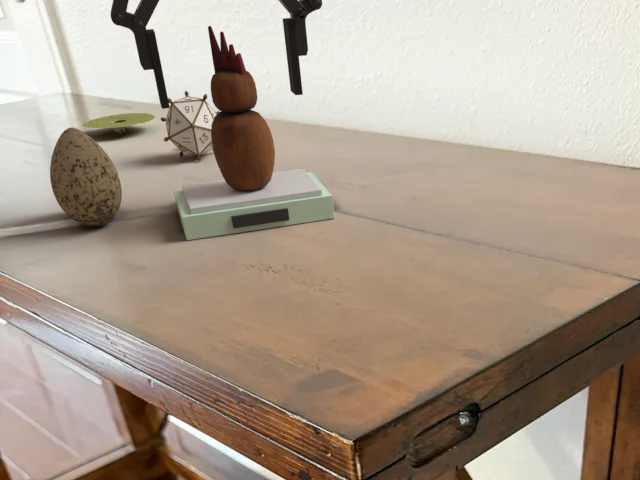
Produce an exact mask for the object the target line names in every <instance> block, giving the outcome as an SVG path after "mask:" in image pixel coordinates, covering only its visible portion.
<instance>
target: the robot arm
mask: <svg viewBox="0 0 640 480" xmlns="http://www.w3.org/2000/svg"><path fill="white" fill-rule="evenodd" d="M129 1H130V0H112V4H111V8H110V19H111V21H112V23H113V24H114V25H115V26H119V27H123V28H126V29H128V30H130V31H131V32H132V33H133V37H134V41H135V45H136V50H137V51H136V52H137V55H138V60H139V64H140V66H141V68H142V69H143V71H150V70H151V71H152V70H153V74H154V79H155V84H156V90H157V94H158V99H159V105H160V107H161V109H163V110H164V109H169V108H170V103H169V102H168V98H169V96H168V93H167V92H168V91H167V88H166V82H165V77H164V72H163V67H162V61H161V57H160V52H159V47H158V41H157V36H156V32H155V30H154V28H150V29H148V28H147V26H148V23H149V22H150V20H151V18H152V16H153V14H154V12H155V10H156V8H157V7H158V4H159V2H160V0H139V3H138V5H137V6H136V9H135V11H134V12H133V13H132V12H128V7H129ZM278 2H279V3H280V4H281V6H283V8H284V9H285V10H286V11H287V13H289V17H285V18H282V26H283V27H282V28H283V34H284V44H285V52H286V61H287V70H288V80H289V89H290V92H291V93H292V94H294V95H295V96H301V95H302V96H303V95H304V93H303V85H302V75H301V74H302V73H301V65H300V57H304V56H307V55H308V51H309V44H308V36H307V35H308V34H307V25H306V20H307V17H308V16H309V15H310V14H311V13H313V12H315V11H318V10H320V9H321V8H322V6H323V0H278Z"/></svg>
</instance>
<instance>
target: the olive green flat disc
mask: <svg viewBox="0 0 640 480" xmlns="http://www.w3.org/2000/svg"><path fill="white" fill-rule="evenodd" d="M154 119H155V114H151V113H145V112H139V113H138V112H137V113H136V112H134V113H131V112H127V113H120V114H111V115H106V116H102V117H101V116H100V117H97V118H93V119H90V120H88V121H87V120H86V121H85V122H83V123H82V126H83V127H84V128H88V129H89V128H90V129H114V132H115V133H116V134H120V135H122V134H124V133H126V131H127V130H128V127H131V126H135V125H139V124H143V123H148V122H151V121H153V120H154Z"/></svg>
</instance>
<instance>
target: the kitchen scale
mask: <svg viewBox="0 0 640 480" xmlns="http://www.w3.org/2000/svg"><path fill="white" fill-rule="evenodd" d="M173 195H174V198H175V204H176V208H177V213H178V216H179V219H180V223H181V226H182V229H183V232H184V236H185V239H186V241H194V240H200V239H207V238H215V237H221V236H226V235H233V234H240V233H246V232H253V231H259V230H265V229H272V228H274V229H275V228H280V227H288V226H294V225H299V224H300V225H301V224H307V223H314V222H319V221H327V220H332V219H335V218H336V217H335V216H336V215H335V206H334V198H333V194H332V193H331V192H330V191H329V190H328V189H327V188H326V187H325V186H324V184H323V183H322V182H321V181H320V180H319V179H318V178H317V177H316V175H315V174H314V173H313V172H312V171H308V172H307V171H306V170H305V169H304V168H298V169H289V170H281V171H275V172H274V171H273V174H272V178H271V181H270V182H269V183H268V184H267V185H266V186H265V187H263V188H260V189H258V190H254V191H240V190H236V189H233V188H231V187H230V186H229V185H228V184H227V183H226V181H225V179H224V178H223V179H217V180H216V179H215V180H209V181H201V182H195V183H194V182H193V183H189V184H188V183H187V184H182V185H181V189H177V190H173Z"/></svg>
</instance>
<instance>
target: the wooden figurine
mask: <svg viewBox="0 0 640 480" xmlns="http://www.w3.org/2000/svg"><path fill="white" fill-rule="evenodd" d="M207 30H208V31H207V32H208V38H209V44H210V50H211V58H212V64H213V70H214V74H213V75H212V76H211V80H210V95H211V100H212V103H213V105H214V107H215V108H216V109H217V110H218V111H219V112H220V113H218V114H217V115H216V116H215V118H214V120H213V122H212V127H211V139H212V146H213V149H212V151H213V155H214V158H215V161H216V164H217V167H218V169H219V171H220V173H221V175H222V178H223V179H225V181H226V183H227V184H228V185H229V186H230V187H231V188H233V189H236V190H240V191H254V190H258V189H260V188H263V187H265V186H266V185H267V184H268V183H269V182H270V181H271V178H272V174H273V173H274V168H275V160H276V149H275V143H274V138H273V135H272V131H271V128H270V127H269V125H268V122H267V121H266V120H265V118H264V117H263V116H262V115H261V114H260V112H258V111H256V110H252V109H254V108H255V107H256V106H257V102H258V90H257V85H256V82H255V80H254V77H253V75H252V74H251V73H250V71H248V70H247V69H246V67H245V66H246V65H245V62H244V59H243V57H242V54H241V52H238V53H236V50H235V47H234V44H233V43H231V44H229V45H228V43H227V40H226V37H225V33H224V31H220V32H219V37H220V38H219V41H220V42H219V43H220V46H219V43H218V40H217V38H216V35H215V33H214V30H213V28H212V26H211V25H208V26H207Z"/></svg>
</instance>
